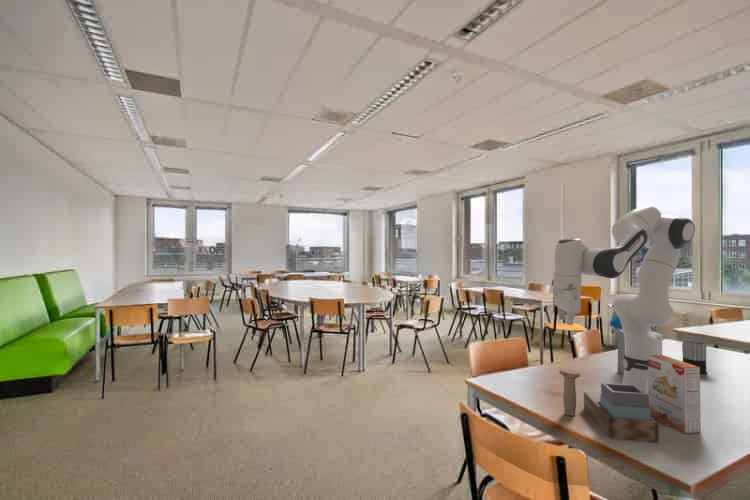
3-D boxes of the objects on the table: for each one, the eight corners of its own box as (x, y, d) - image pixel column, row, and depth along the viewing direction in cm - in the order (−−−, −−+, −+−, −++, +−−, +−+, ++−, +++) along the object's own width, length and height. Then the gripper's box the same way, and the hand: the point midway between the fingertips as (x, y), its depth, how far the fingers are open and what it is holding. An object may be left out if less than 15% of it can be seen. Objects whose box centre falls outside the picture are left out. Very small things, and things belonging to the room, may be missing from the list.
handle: (575, 419, 125) (575, 374, 125) (557, 412, 130) (556, 370, 131) (582, 415, 128) (582, 372, 128) (564, 409, 133) (564, 367, 133)
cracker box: (646, 414, 129) (646, 354, 129) (663, 414, 129) (662, 354, 130) (683, 434, 115) (683, 366, 115) (701, 433, 115) (701, 366, 116)
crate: (634, 420, 121) (633, 384, 121) (650, 435, 111) (650, 395, 111) (600, 418, 123) (600, 381, 123) (613, 432, 113) (613, 393, 113)
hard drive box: (623, 376, 169) (623, 332, 170) (617, 371, 177) (616, 329, 177) (663, 379, 166) (662, 334, 166) (654, 373, 173) (654, 330, 173)
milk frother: (713, 374, 172) (712, 342, 172) (678, 374, 172) (678, 342, 172) (687, 365, 186) (687, 335, 186) (655, 365, 186) (655, 335, 187)
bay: (624, 411, 131) (623, 394, 131) (658, 443, 110) (658, 422, 110) (584, 408, 134) (583, 392, 134) (610, 438, 112) (609, 418, 112)
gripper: (587, 287, 121) (585, 329, 122) (568, 281, 141) (566, 317, 142) (566, 285, 123) (564, 327, 123) (550, 280, 143) (548, 316, 143)
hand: (565, 322), depth 132 cm, fingers open, 8 cm apart
